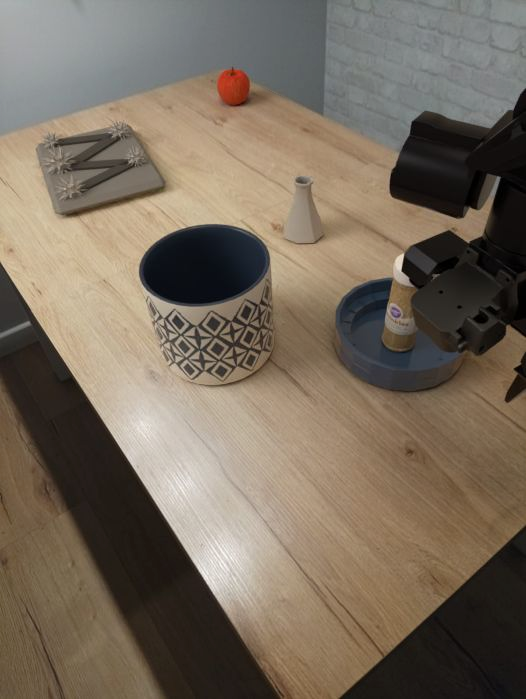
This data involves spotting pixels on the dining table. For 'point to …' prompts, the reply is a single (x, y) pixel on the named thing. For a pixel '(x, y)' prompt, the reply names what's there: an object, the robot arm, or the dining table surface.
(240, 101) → the apple
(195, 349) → the planter
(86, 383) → the dining table surface
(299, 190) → the flask
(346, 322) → the bowl
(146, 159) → the decorative plate
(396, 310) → the sprinkles bottle
